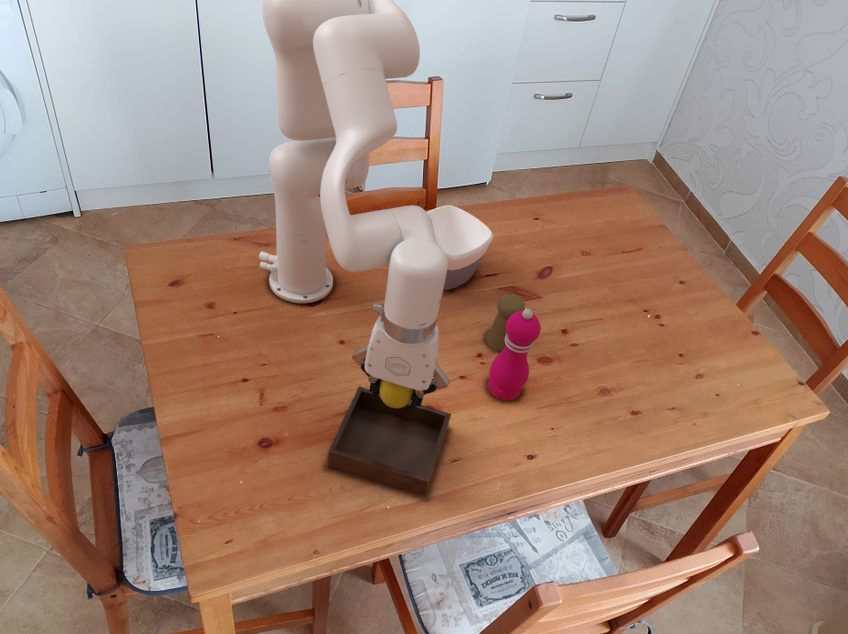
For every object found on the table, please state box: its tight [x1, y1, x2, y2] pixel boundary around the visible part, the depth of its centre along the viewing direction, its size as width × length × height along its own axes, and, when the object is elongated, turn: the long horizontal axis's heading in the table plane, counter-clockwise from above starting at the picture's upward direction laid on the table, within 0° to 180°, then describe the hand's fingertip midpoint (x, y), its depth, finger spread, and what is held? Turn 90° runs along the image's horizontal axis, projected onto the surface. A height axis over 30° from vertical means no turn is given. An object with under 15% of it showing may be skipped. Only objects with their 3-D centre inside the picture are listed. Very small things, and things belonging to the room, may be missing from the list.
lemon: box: [379, 379, 415, 408], centre depth 113 cm, size 6×6×8 cm
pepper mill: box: [487, 308, 542, 401], centre depth 129 cm, size 7×7×20 cm
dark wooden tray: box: [327, 386, 452, 497], centre depth 121 cm, size 17×15×4 cm
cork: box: [485, 293, 526, 353], centre depth 141 cm, size 6×6×11 cm
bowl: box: [426, 204, 494, 291], centre depth 153 cm, size 15×15×11 cm
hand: (395, 399), depth 115 cm, fingers closed on lemon, 5 cm apart
